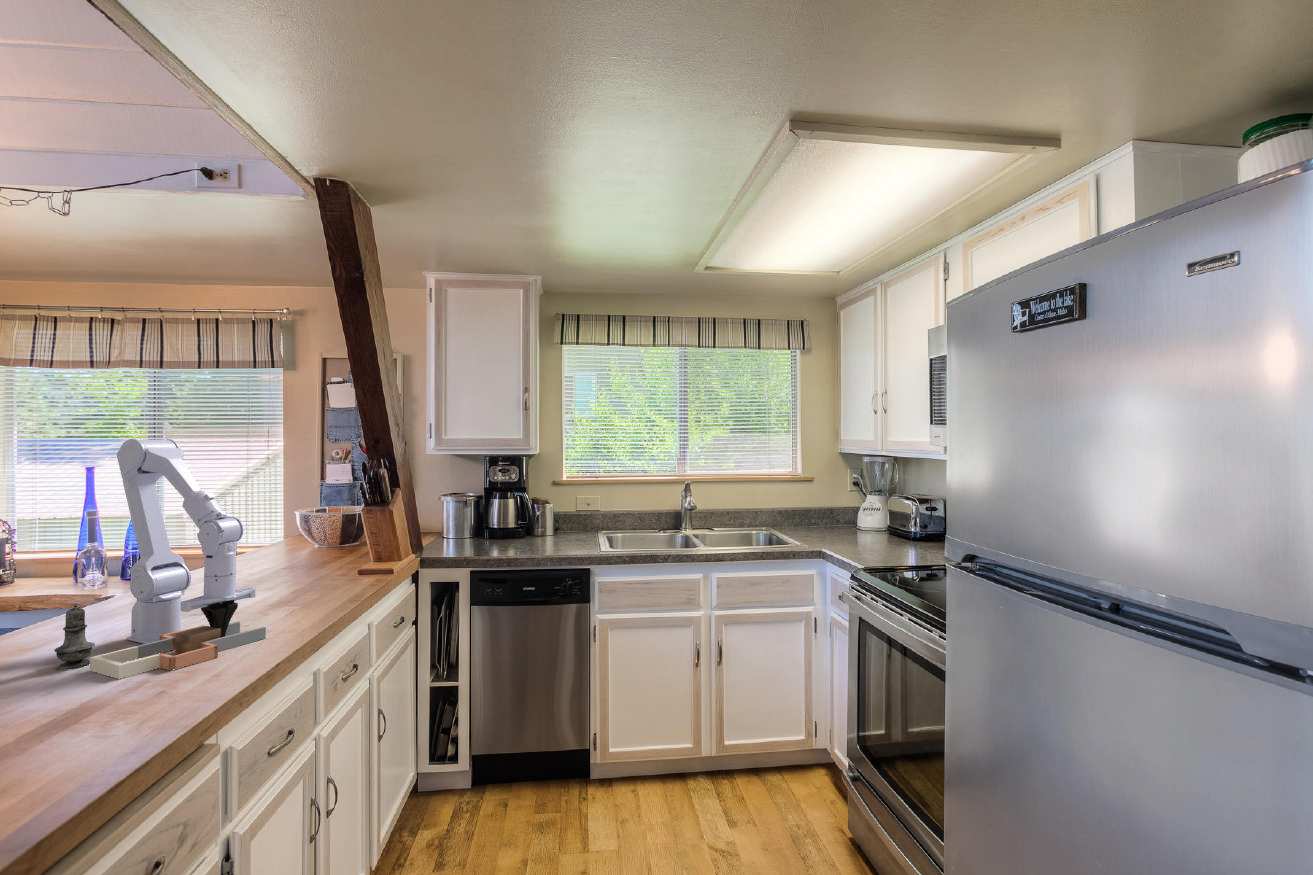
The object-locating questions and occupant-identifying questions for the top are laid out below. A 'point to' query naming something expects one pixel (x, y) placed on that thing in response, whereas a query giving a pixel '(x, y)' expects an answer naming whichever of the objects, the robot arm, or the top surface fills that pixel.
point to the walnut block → (195, 638)
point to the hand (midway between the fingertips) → (219, 637)
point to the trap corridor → (152, 659)
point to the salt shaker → (74, 641)
